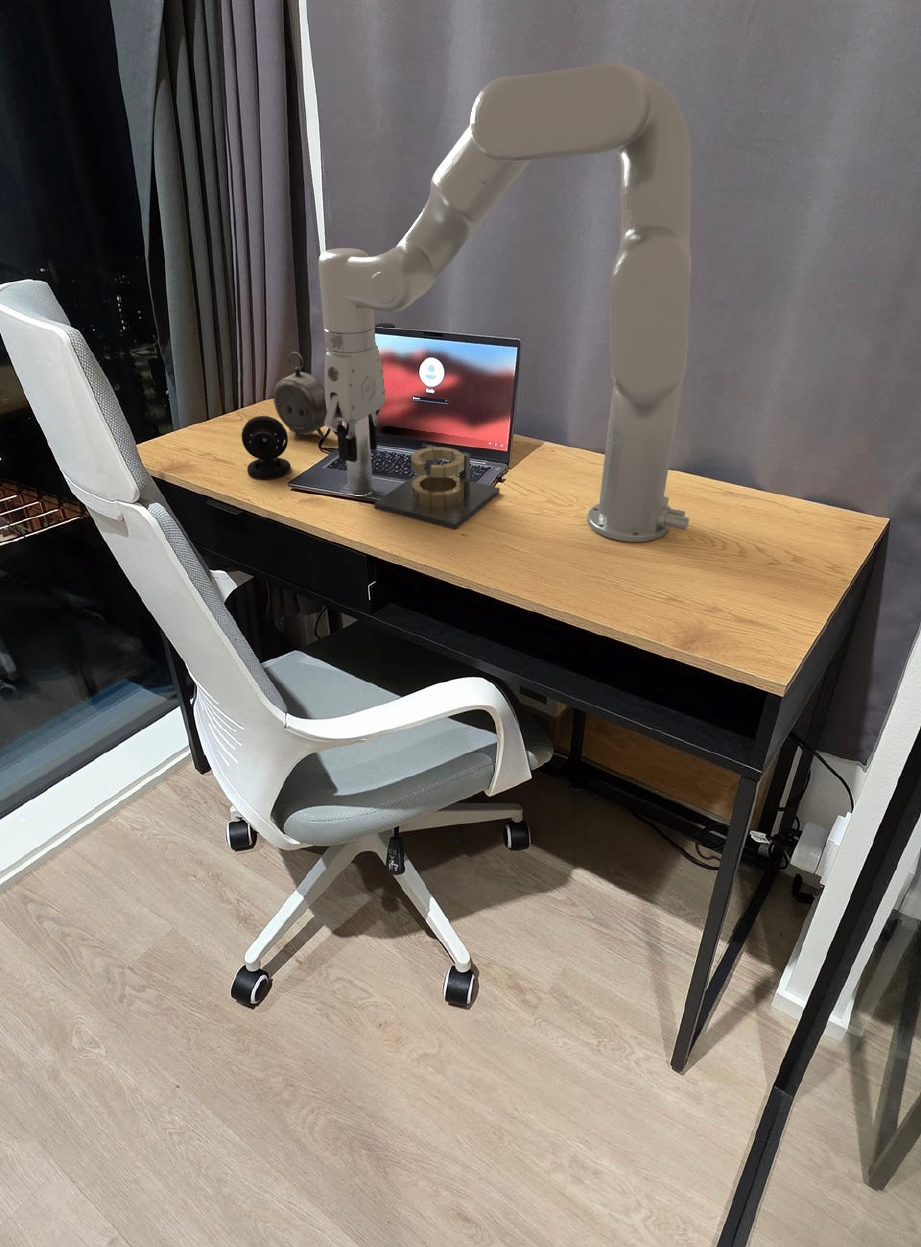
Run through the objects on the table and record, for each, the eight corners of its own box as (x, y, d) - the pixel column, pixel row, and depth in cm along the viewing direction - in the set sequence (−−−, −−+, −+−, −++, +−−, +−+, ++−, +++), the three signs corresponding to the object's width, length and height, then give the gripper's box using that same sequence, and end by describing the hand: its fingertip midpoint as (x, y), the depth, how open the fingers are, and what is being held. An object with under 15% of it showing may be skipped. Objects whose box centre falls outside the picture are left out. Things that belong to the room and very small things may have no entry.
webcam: (245, 481, 137) (236, 425, 131) (249, 464, 143) (240, 409, 137) (290, 479, 138) (283, 423, 132) (292, 462, 144) (286, 408, 138)
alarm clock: (334, 438, 153) (327, 353, 144) (316, 447, 149) (307, 360, 140) (292, 427, 158) (282, 344, 149) (273, 435, 154) (262, 350, 145)
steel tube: (377, 490, 134) (371, 384, 124) (364, 499, 131) (356, 391, 121) (357, 485, 136) (349, 379, 125) (343, 493, 133) (334, 386, 123)
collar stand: (499, 493, 133) (500, 450, 129) (455, 529, 122) (455, 484, 118) (423, 475, 139) (422, 433, 135) (374, 508, 128) (372, 464, 124)
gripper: (336, 357, 112) (346, 477, 122) (401, 330, 124) (405, 441, 134) (294, 349, 115) (307, 467, 125) (362, 324, 127) (369, 433, 137)
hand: (358, 453), depth 129 cm, fingers open, 4 cm apart
